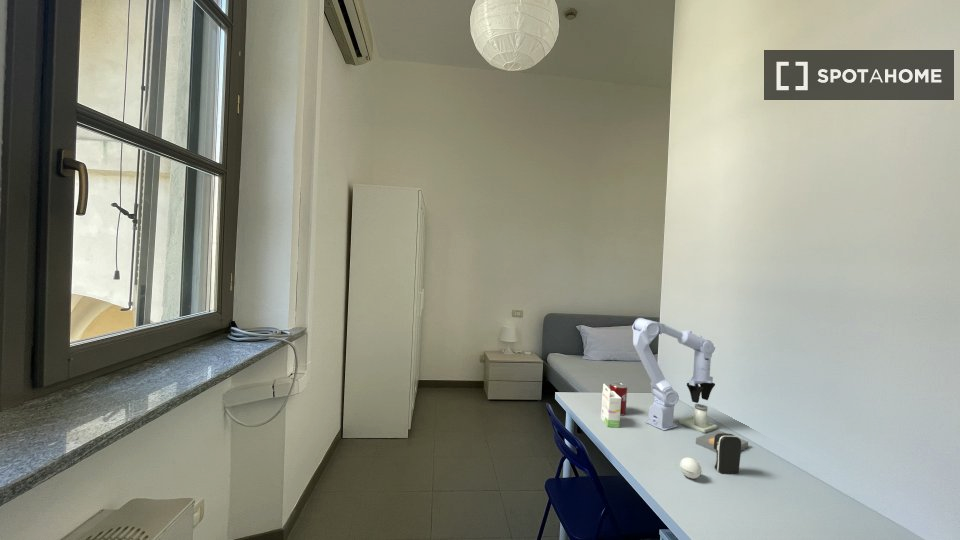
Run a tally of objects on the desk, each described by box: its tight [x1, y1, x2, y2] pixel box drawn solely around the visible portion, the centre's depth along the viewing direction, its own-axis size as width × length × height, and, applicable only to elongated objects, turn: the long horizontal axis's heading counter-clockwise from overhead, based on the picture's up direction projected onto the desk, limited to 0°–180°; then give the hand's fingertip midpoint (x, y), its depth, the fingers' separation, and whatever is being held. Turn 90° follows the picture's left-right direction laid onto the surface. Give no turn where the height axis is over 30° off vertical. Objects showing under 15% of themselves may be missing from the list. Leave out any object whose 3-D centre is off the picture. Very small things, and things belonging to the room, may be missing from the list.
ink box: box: [600, 383, 621, 429], centre depth 141 cm, size 9×5×15 cm, turn 179°
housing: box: [695, 429, 749, 453], centre depth 128 cm, size 16×10×2 cm, turn 121°
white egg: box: [679, 456, 708, 479], centre depth 105 cm, size 8×6×6 cm
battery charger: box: [714, 432, 742, 474], centre depth 111 cm, size 7×4×11 cm, turn 94°
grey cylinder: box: [694, 403, 709, 428], centre depth 142 cm, size 4×4×8 cm
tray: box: [678, 415, 718, 435], centre depth 143 cm, size 10×10×2 cm
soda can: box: [608, 382, 628, 416], centre depth 152 cm, size 7×7×12 cm
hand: (700, 400), depth 143 cm, fingers open, 7 cm apart
